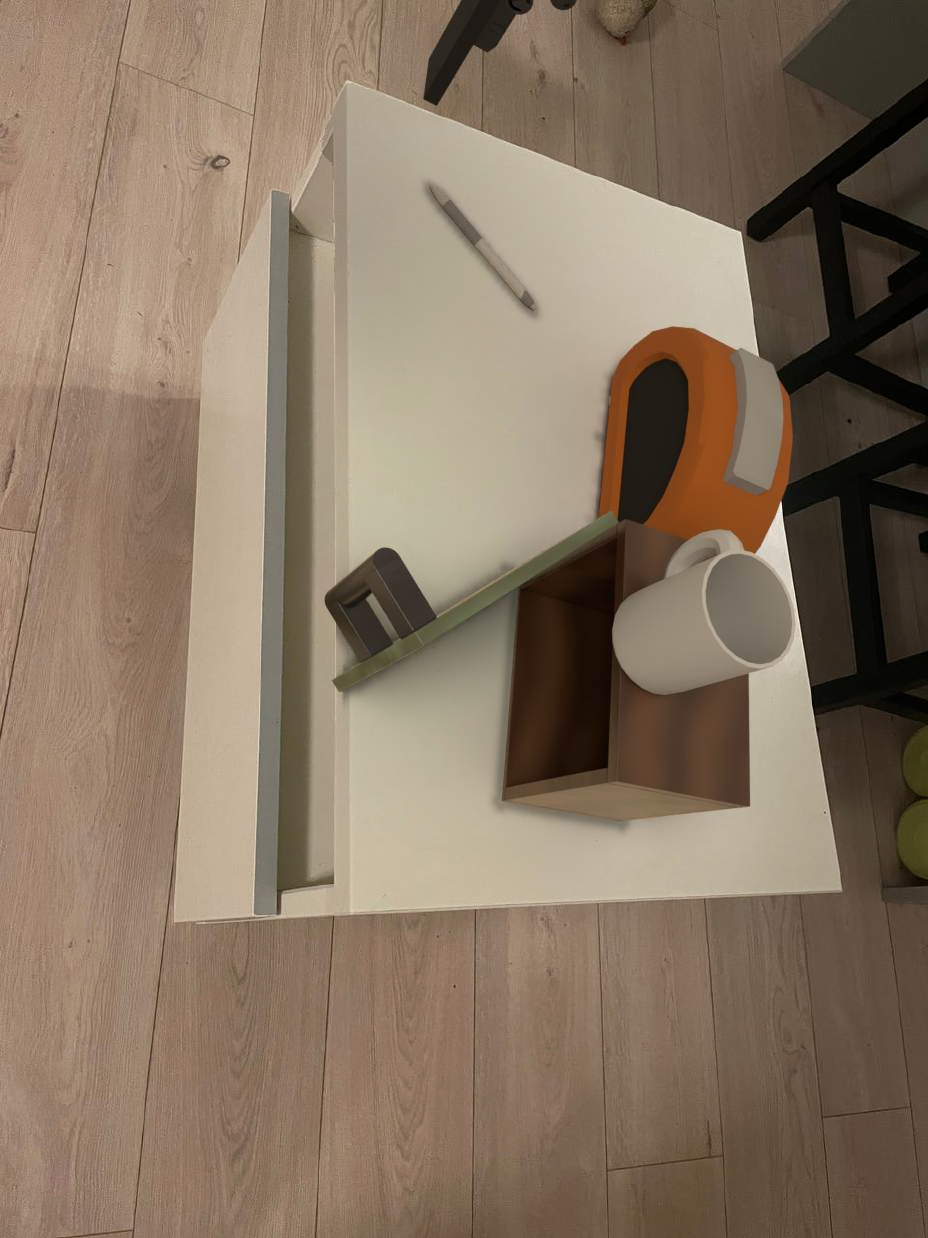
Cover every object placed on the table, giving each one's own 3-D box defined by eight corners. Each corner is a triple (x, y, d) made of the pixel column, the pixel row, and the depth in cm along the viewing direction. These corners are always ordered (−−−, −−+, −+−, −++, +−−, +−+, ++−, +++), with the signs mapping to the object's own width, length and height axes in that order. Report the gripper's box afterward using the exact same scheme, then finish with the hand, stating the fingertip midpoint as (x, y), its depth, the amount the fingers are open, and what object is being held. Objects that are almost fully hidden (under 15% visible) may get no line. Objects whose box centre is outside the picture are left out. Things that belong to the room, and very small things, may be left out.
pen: (526, 316, 84) (534, 308, 83) (423, 194, 82) (429, 183, 81) (532, 311, 85) (540, 302, 83) (430, 189, 83) (436, 179, 81)
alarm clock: (603, 365, 87) (728, 262, 73) (678, 400, 90) (811, 308, 76) (580, 593, 79) (715, 527, 65) (663, 623, 82) (809, 566, 68)
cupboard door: (289, 615, 66) (364, 550, 53) (469, 515, 75) (570, 440, 63) (336, 693, 66) (423, 646, 54) (511, 584, 76) (619, 522, 63)
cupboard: (497, 801, 70) (616, 781, 57) (514, 581, 76) (626, 518, 63) (616, 821, 75) (750, 807, 62) (623, 612, 80) (747, 559, 68)
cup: (603, 681, 59) (698, 650, 51) (616, 540, 62) (706, 491, 55) (692, 708, 62) (794, 682, 54) (699, 571, 65) (796, 529, 58)
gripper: (16, -993, 19) (-9, -72, 37) (871, -248, 29) (524, 188, 47) (97, -1112, 21) (37, -194, 39) (859, -387, 32) (534, 78, 50)
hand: (302, 15), depth 43 cm, fingers open, 13 cm apart
